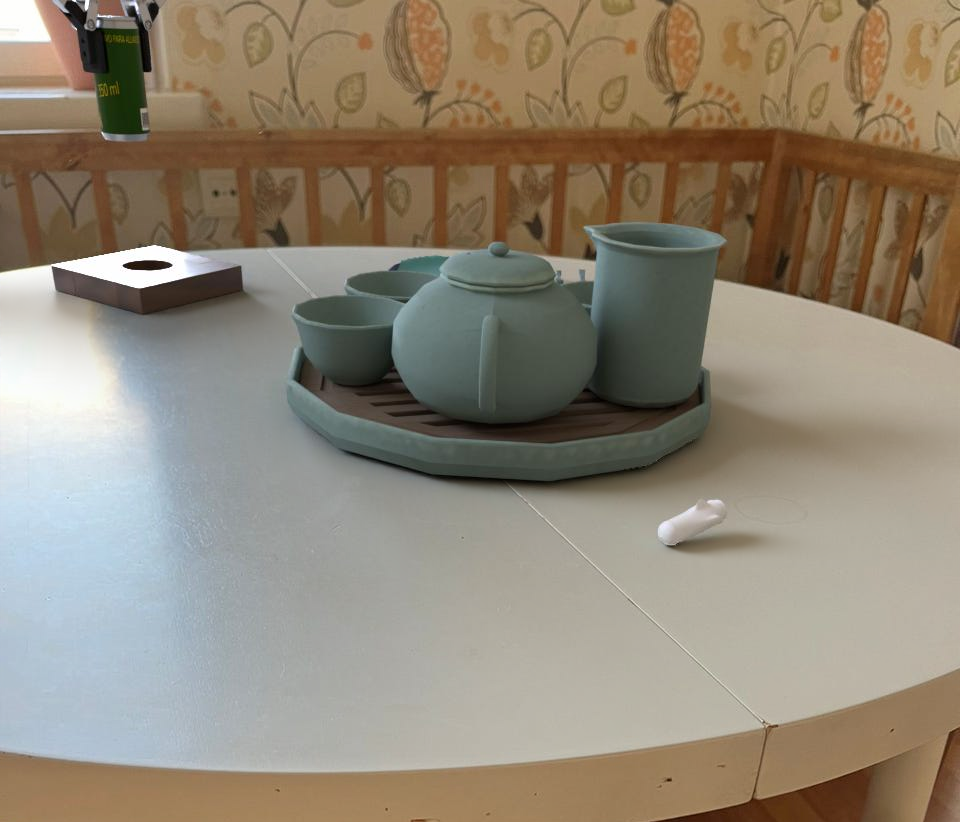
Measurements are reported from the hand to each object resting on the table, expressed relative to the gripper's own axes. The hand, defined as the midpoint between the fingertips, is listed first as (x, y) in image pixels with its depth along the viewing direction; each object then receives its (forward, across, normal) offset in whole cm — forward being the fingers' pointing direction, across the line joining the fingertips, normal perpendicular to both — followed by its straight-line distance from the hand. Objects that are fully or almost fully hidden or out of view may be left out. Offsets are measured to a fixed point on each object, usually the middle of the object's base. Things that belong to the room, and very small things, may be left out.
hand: (118, 70), depth 115 cm
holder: (+24, -2, -1) cm, 24 cm away
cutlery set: (+24, -34, +30) cm, 51 cm away
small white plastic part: (+24, +17, +82) cm, 87 cm away
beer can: (+7, 0, 0) cm, 7 cm away
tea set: (+24, +3, +55) cm, 60 cm away
